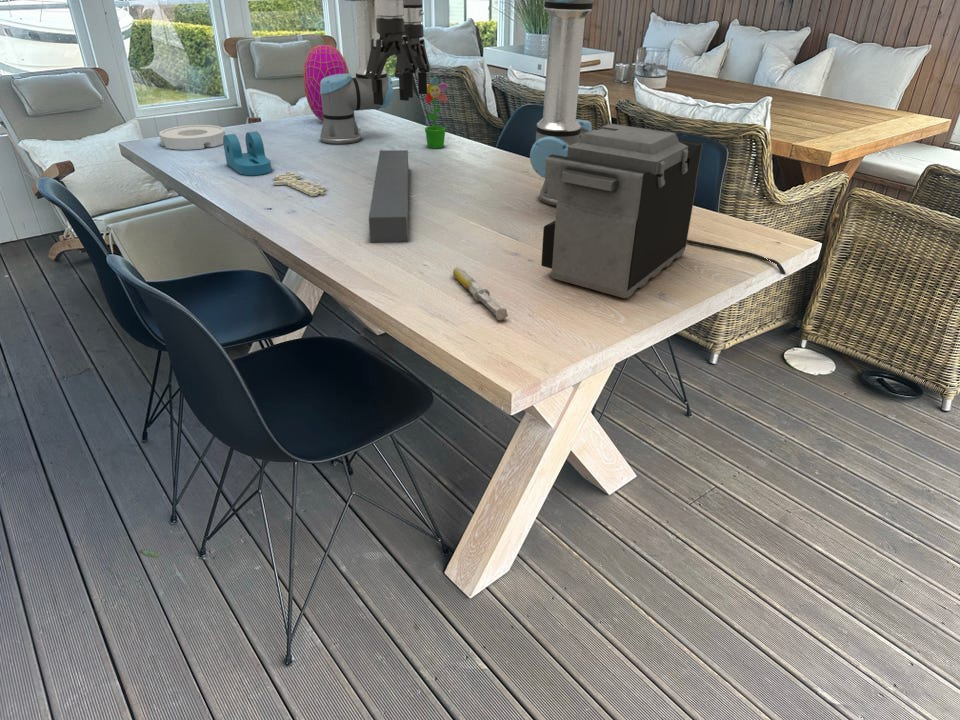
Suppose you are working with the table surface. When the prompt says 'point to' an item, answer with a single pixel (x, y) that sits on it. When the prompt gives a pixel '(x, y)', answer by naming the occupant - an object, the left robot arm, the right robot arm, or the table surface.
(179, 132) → the ashtray
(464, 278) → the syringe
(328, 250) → the table surface
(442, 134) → the potted flower
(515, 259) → the table surface
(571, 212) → the dark grey storage case
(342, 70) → the decorative egg
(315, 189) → the decorative sign
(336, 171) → the table surface
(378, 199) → the thick board
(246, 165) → the camera mount
